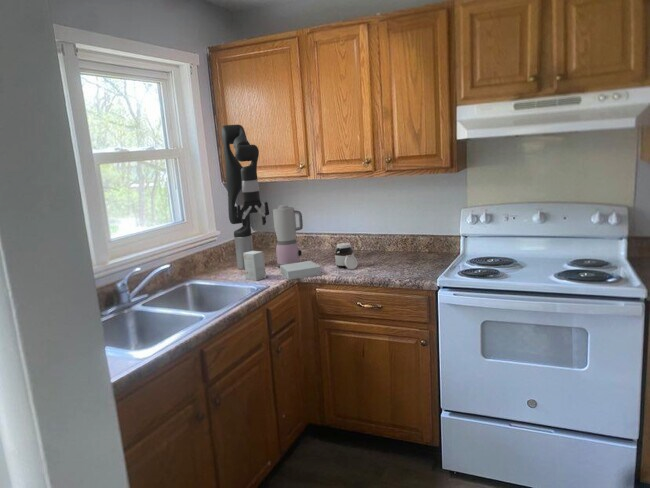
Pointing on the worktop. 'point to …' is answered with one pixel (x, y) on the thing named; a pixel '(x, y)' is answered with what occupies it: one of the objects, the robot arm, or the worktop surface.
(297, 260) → the blender
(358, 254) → the worktop surface
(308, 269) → the block
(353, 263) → the spread jar
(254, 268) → the small box
